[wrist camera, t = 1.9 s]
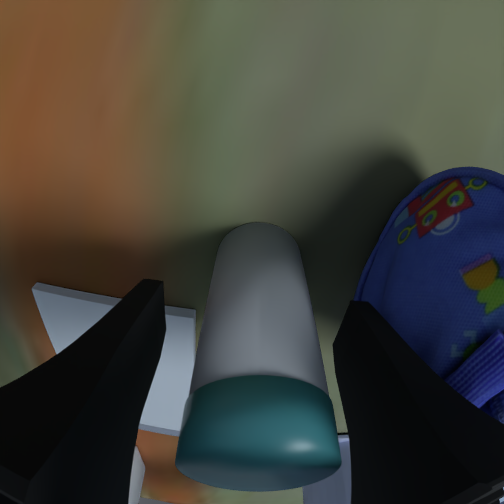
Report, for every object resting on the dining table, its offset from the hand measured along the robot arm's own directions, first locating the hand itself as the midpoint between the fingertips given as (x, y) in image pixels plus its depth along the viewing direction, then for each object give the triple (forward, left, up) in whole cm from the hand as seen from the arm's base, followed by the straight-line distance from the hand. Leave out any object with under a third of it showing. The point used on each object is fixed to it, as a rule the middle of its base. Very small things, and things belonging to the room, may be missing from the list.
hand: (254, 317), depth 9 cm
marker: (0, 0, -4) cm, 4 cm away
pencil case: (-15, +1, -4) cm, 15 cm away
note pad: (+7, +10, -4) cm, 12 cm away
